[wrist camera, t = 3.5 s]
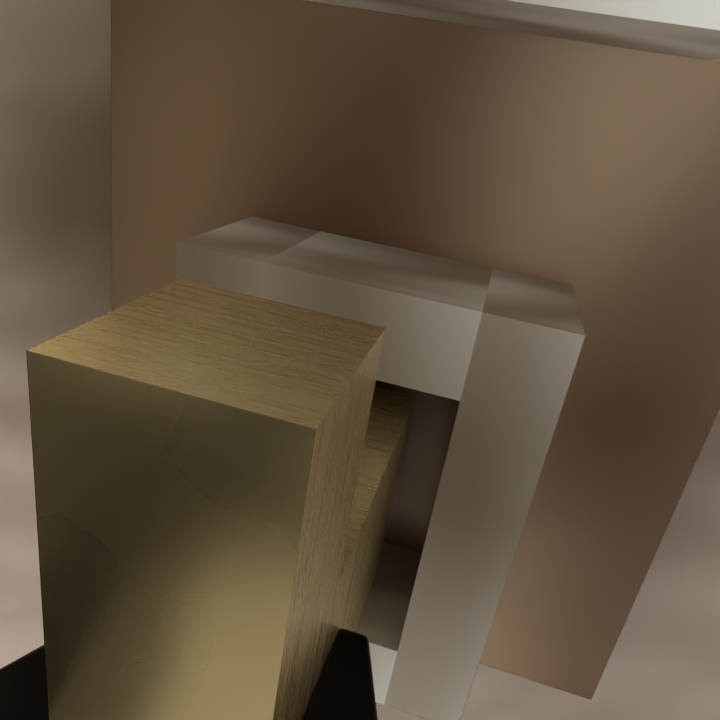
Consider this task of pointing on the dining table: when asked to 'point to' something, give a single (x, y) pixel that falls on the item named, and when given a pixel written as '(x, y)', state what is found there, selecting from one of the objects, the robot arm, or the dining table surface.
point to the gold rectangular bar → (206, 502)
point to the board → (460, 279)
